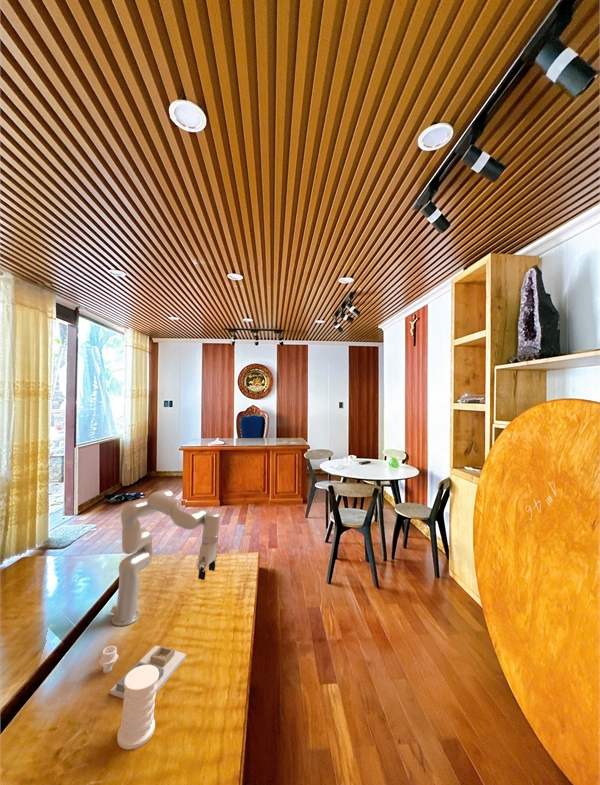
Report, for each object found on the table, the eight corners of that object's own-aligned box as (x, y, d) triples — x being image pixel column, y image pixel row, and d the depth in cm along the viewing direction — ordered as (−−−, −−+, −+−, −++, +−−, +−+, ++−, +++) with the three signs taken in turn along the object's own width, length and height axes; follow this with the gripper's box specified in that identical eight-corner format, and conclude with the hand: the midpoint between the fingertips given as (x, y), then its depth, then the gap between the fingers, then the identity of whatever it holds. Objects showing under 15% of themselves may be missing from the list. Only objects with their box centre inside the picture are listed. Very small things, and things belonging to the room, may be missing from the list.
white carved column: (147, 749, 107) (153, 690, 108) (110, 749, 106) (116, 690, 107) (159, 716, 118) (164, 664, 119) (126, 716, 117) (131, 663, 119)
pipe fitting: (119, 663, 141) (121, 644, 141) (110, 677, 134) (112, 656, 134) (104, 663, 141) (106, 643, 141) (94, 676, 133) (97, 655, 134)
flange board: (110, 694, 126) (111, 683, 126) (155, 648, 151) (156, 639, 151) (145, 706, 122) (146, 694, 122) (186, 657, 147) (186, 648, 147)
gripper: (211, 531, 171) (208, 565, 170) (193, 543, 155) (190, 581, 153) (224, 534, 170) (221, 568, 168) (208, 546, 153) (204, 584, 152)
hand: (206, 574), depth 161 cm, fingers open, 9 cm apart
